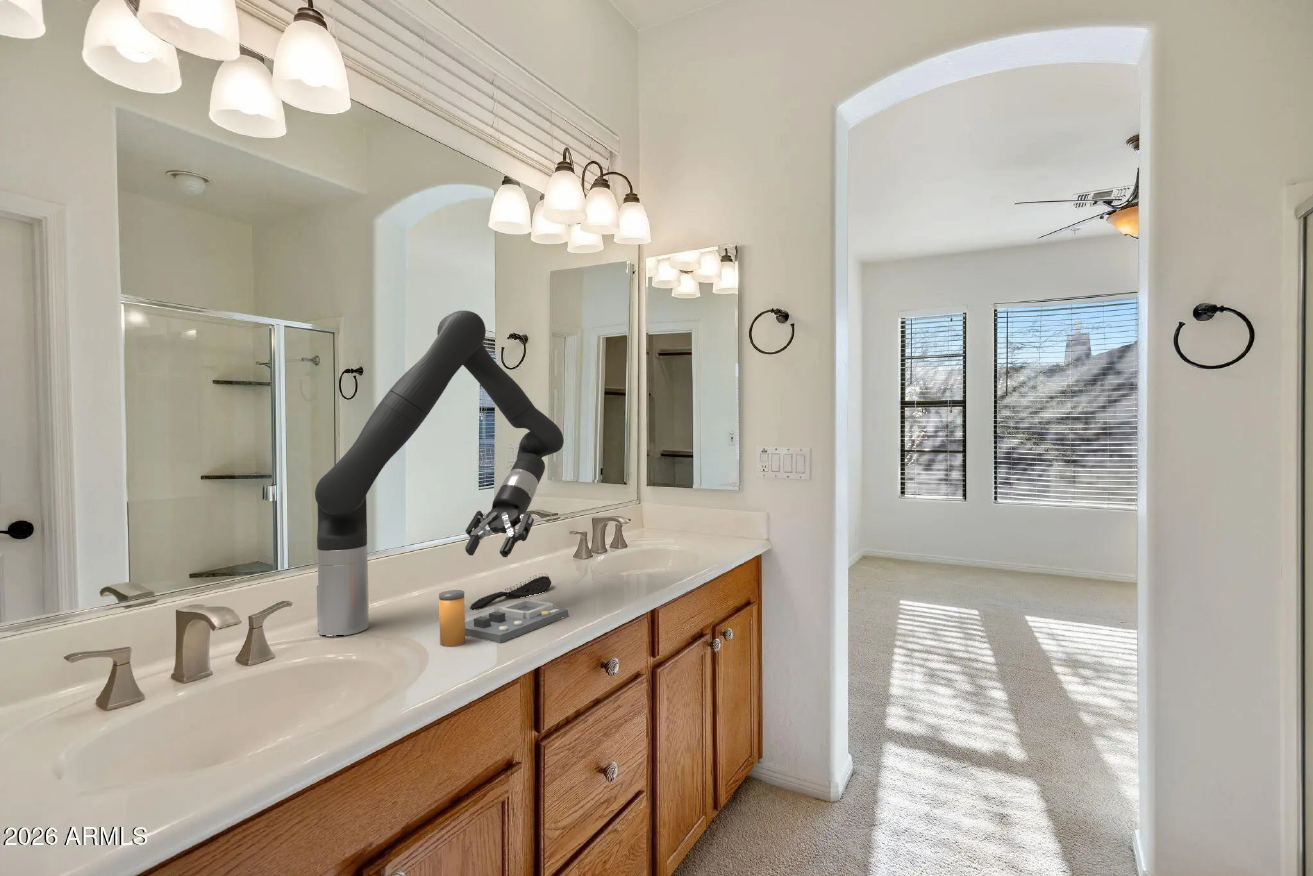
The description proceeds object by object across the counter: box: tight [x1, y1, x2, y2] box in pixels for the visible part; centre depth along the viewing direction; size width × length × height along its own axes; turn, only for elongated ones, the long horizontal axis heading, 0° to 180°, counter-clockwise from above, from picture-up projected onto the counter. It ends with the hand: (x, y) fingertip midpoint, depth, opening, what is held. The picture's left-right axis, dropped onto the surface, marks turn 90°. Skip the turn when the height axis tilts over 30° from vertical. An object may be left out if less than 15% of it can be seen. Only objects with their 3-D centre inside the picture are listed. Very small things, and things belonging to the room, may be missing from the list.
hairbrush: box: [469, 573, 552, 611], centre depth 152 cm, size 8×4×25 cm
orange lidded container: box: [438, 589, 466, 648], centre depth 118 cm, size 5×5×10 cm
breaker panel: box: [465, 599, 569, 644], centre depth 129 cm, size 13×20×3 cm, turn 149°
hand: (485, 554), depth 128 cm, fingers open, 8 cm apart
